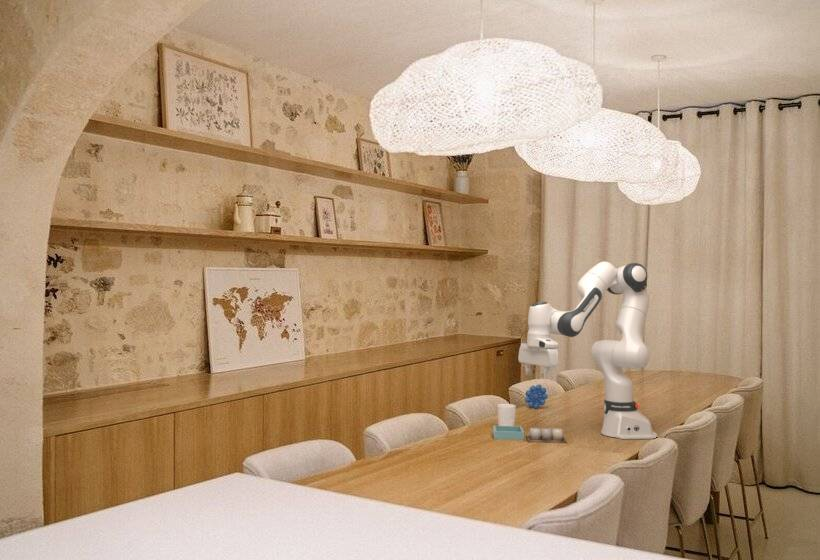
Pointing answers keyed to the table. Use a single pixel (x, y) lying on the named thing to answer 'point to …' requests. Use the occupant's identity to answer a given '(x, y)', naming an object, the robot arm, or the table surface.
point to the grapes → (536, 396)
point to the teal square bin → (508, 432)
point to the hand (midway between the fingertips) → (536, 376)
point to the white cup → (506, 414)
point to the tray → (546, 440)
